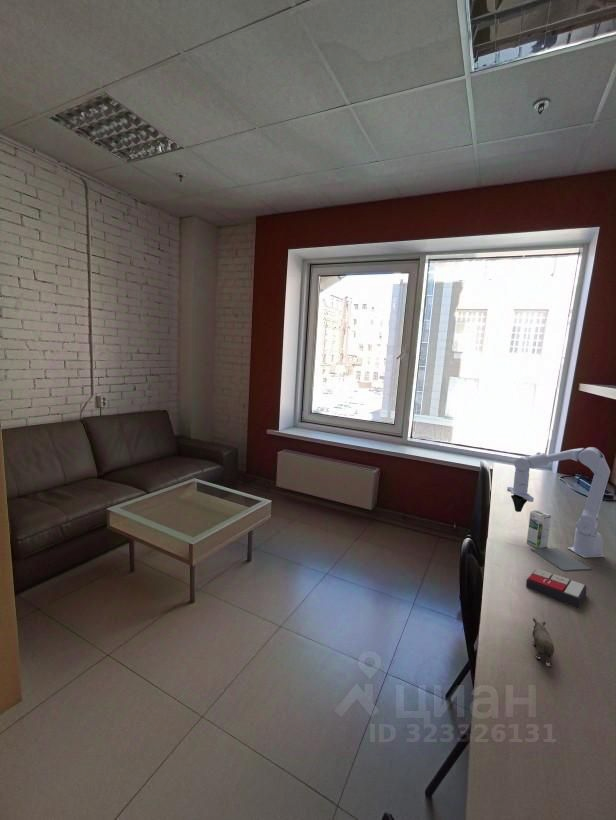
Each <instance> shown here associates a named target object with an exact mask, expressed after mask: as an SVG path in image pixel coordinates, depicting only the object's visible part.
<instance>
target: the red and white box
mask: <svg viewBox="0 0 616 820" xmlns="http://www.w3.org/2000/svg"><path fill="white" fill-rule="evenodd" d="M525 588H527V589H529V590H532V591H534V592H536V593H539V594H542V595H544V596H547V597H549V598H552V599H555V600H557V601H560V602H561V603H563V602H564V603H563V604H565V603H567V604H566V605H568V604H569V605H568V606H570V605H572V606H571V607H573V606H574V607H573V608H575V607H576V609H578V608H579V609H580V608H581V606H582V604H583V602H584V601H585V598H586V597H587V585H585V584H584V583H582V582H581V583H580V582H578V581H574V580H570V578H567V577H564V576H560V575H558V574H553V573H551V572H549V571H546V570H542V569H540V568H535V569H534V570H533V572H532V573H531V574H530V575H529V576H528V578H527V579H526V586H525Z"/></svg>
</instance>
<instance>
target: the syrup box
mask: <svg viewBox="0 0 616 820" xmlns="http://www.w3.org/2000/svg"><path fill="white" fill-rule="evenodd" d="M551 519H552V515H551V514H549V513H546V512H544V511H541V510H536V509H535V510H531V511H530V512H529V520H528V529H527V537H526V544H529V546H530V545H531V546H533V547H535V549H545V548H547V547H548V545H549V544H548V543H549V535H550V527H551Z"/></svg>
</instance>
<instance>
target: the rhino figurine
mask: <svg viewBox="0 0 616 820" xmlns="http://www.w3.org/2000/svg"><path fill="white" fill-rule="evenodd" d="M532 621H533V623H534V625H533V629H532V637H533V641H534V644H535V645H536V646H535V647H536V650H537V655H536V654H535V655H536V656H537V657H541V658H542V656H543V655H544V652H545V656H546V661H545V662H547V663H551V661H552V657H553V655H554V653H555V648H554V643H553V641H552V638H551V636H550V633H549V631H548V630H547V629H546V627H545V625H546V624H547V623H546V621H542V622H539V621H537V619H536V618H535V617H533V618H532ZM551 664H552V663H551Z"/></svg>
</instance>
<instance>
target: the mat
mask: <svg viewBox="0 0 616 820" xmlns="http://www.w3.org/2000/svg"><path fill="white" fill-rule="evenodd" d="M531 551H533V553H535V554H537V555H538V556H540V557H541V558H543V559H545V560H546V561H547V562H549V563H550V564H551V565H554V566H555V567H556V568H557V569H559V570H561V571H563V572H568V571H569V572H570V571H586V570H587V571H590V570H592V568H591V567H589V566H588V565H585V564H584V563H583V562H581V561H580V560H577V559H576V558H574V557H572V556H571V555H570V554H568V553H566V552H564V551H563V550H561V549H559V548H557V547H553V548H552V547H550V548H547V547H544V548H539V549H538V548H532V549H531Z"/></svg>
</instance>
